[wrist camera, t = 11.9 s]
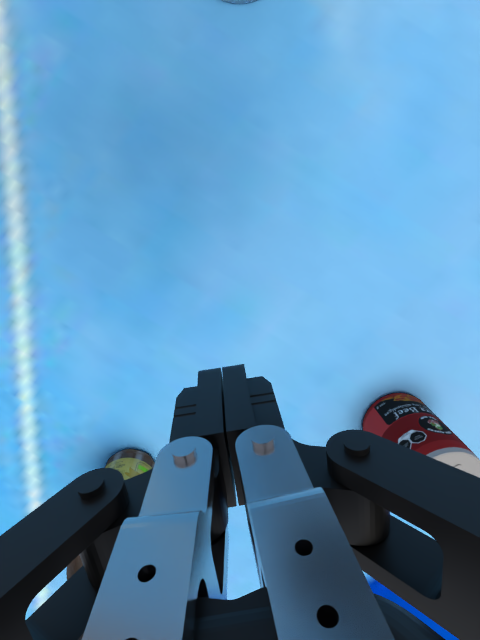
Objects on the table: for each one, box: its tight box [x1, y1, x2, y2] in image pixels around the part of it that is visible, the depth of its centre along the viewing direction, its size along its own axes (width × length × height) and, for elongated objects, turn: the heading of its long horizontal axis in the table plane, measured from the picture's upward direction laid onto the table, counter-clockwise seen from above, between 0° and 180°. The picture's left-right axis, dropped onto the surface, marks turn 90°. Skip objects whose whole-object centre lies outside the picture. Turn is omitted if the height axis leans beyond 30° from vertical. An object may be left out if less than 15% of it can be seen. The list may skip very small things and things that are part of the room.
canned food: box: [363, 393, 480, 478], centre depth 41 cm, size 8×8×11 cm
